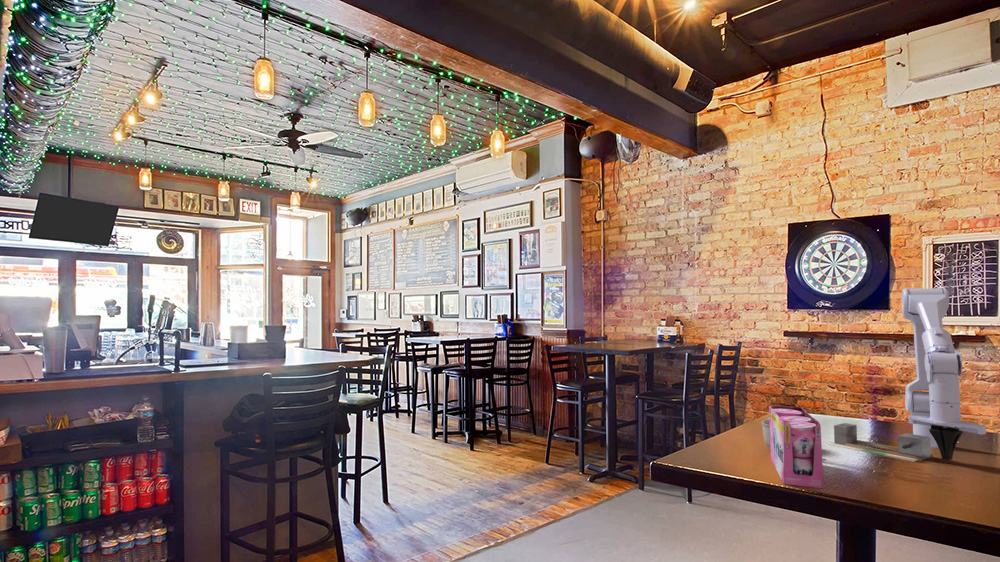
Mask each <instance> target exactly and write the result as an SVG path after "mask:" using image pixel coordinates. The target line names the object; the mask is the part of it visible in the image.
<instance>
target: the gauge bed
mask: <svg viewBox="0 0 1000 562" xmlns="http://www.w3.org/2000/svg"><path fill="white" fill-rule="evenodd" d="M857 429H858V428H857V424H852V423H846V422H843V423H840V424H839V423H838V424H835V425H833V435H834V437H833V438H834V441H833V442H828V443H826V444H827V445H828V446H832V447H836V448H837V447H838V448H843V449H848V450H853V451H857V452H862V453H867V454H871V455H877V456H881V457H887V458H893V459H896V460H902V461H906V462H907V461H908V462H913V463H915V462H922V461H923V460H922V458H921V457H916V456H911V455H905V454H900V453H898V446H892V445H887V444H881V443H875V442H871V441H866V440H858V430H857ZM858 444H860V445H858ZM863 445H866V446H863ZM869 446H871V447H869ZM873 447H874V448H873ZM875 447H876V448H875ZM880 448H882V449H880ZM883 449H886V450H883ZM889 450H890V451H889ZM895 451H897V452H895ZM930 458H933V453H931V457H930Z"/></svg>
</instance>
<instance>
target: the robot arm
mask: <svg viewBox="0 0 1000 562" xmlns="http://www.w3.org/2000/svg"><path fill="white" fill-rule="evenodd" d="M900 297H901V298H900V299H901V300H900V301H901V310H902V311H901V313H902V316H903V318H904V319H906V320H909V321H910V323H911V325H912V328H913V341H914V343H913V344H914V353H915V371H916V379H915V380H913V381H911V382H909V383H908V384H907V385H906V386H905V393H904V406H905V410H906V412H907V413H908V414H910V415H908V417H907V418H908V424H911V425H912V432H913V433H912V434H915V435H921V436H927V437H930V448H934V449H938V450H939V452H940V455H941V456H940V457H941V459H942V460H946V461H950V460H951V461H952V460H953V456H954V452H955V449H956V446H957V444H958V442H959V440H960V438H961V436H962V435H963V433H964V432H966V433H974V434H978V435H983V436H984V435H987V426H986V425H985V424H980V423H974V422H969V421H964V420H962V418H961V413H962V412H961V395H960V394H961V393H960V377H961V376H962V372H963V361H962V357H961V354H960V352H959V351H958V349H956V348H955V346H954V343H953V339H952V335H951V333H950V332H949V331H948V330H947V329H944V327H943V325H944V324H943V319H944V318H945V316H946V314H947V311H948V309H949V306H950V294H949V290H948V289H947V288H946V287H941V288H939V287H938V288H936V287H935V288H933V287H930V288H928V287H927V288H926V287H923V288H907V287H905V288H903V289H902V290H901V296H900ZM918 390H919V391H918Z"/></svg>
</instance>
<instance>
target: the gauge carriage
mask: <svg viewBox="0 0 1000 562" xmlns="http://www.w3.org/2000/svg"><path fill="white" fill-rule="evenodd" d="M897 445H898V446H897V447H898V451H897V453H900V454H905V455H911V456H916V457H921V458H922V461H924V460H927V459H931V458H932V457H931V454H932V450H931V448H932V447H930V437H927V436H921V435H915V434H913V433H907V432H905V433H902V434H898V435H897Z"/></svg>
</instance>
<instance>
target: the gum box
mask: <svg viewBox="0 0 1000 562" xmlns="http://www.w3.org/2000/svg"><path fill="white" fill-rule="evenodd" d="M768 408H769V409H768V416H769V417H768V418H769V421H770V448H769V449H770V460H771V461H772V464H773V466H774V468H775V470H776V472H777V474H778V475H779V478H780V480H781V481H782V484H783V485H788V486H797V487H806V488H807V487H808V488H816V489H824V472H823V471H824V470H823V469H824V467H823V447H822V429H821V426H822V425H821V423H820V421H819V420H817V419H816V418H814V417H813V416H812V415H810V414H809V412H807V411H806V410H805V409H804V408H803V407H800V406H785V405H784V406H780V405H769V407H768Z"/></svg>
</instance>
